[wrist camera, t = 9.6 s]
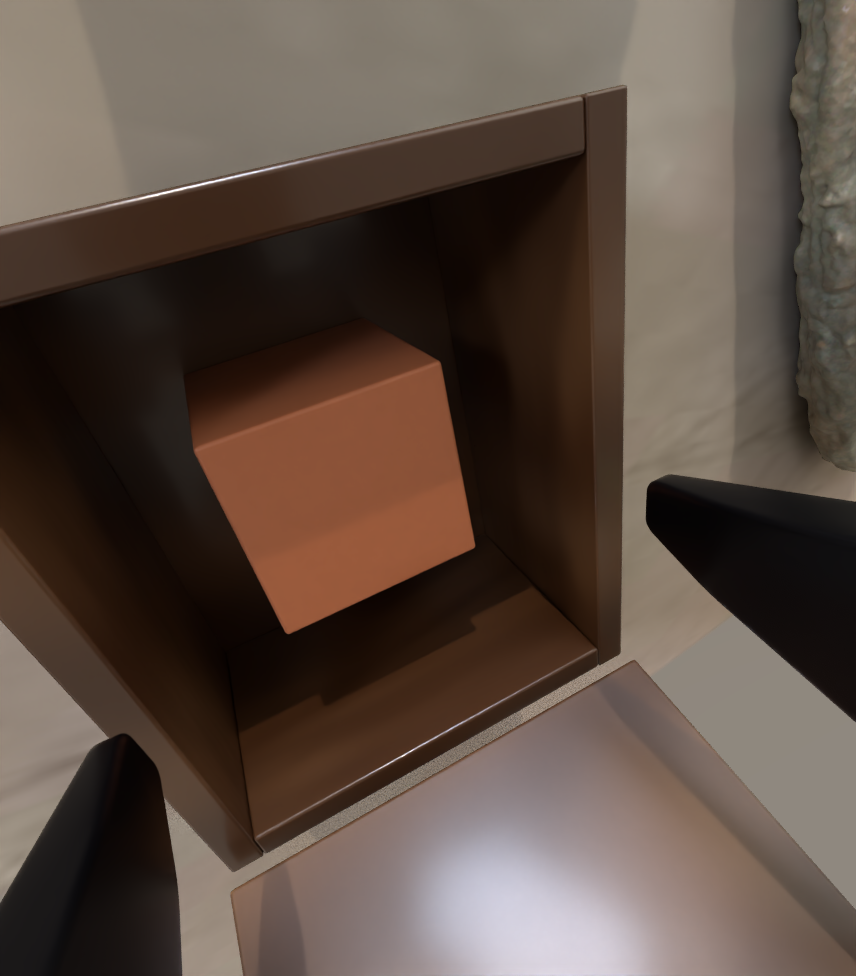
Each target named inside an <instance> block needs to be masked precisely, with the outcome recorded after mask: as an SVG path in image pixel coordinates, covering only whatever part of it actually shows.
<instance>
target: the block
mask: <svg viewBox="0 0 856 976" xmlns="http://www.w3.org/2000/svg"><path fill="white" fill-rule="evenodd" d="M183 379H184V386H185V393H186V400H187V408H188V415H189V422H190V429H191V436H192V443H193V450H194V453H195V455H196V457H197V459H198V461H199V463H200V465H201V467H202V469H203V471H204V473H205V475H206V477H207V479H208V481H209V483H210V485H211V487H212V489H213V491H214V493H215V495H216V497H217V499H218V501H219V503H220V505H221V507H222V509H223V511H224V513H225V515H226V517H227V519H228V521H229V522H230V524H231V526H232V528H233V530H234V532H235V534H236V536H237V538H238V540H239V542H240V544H241V546H242V548H243V550H244V552H245V554H246V556H247V558H248V560H249V562H250V564H251V566H252V568H253V570H254V572H255V574H256V576H257V578H258V580H259V582H260V584H261V586H262V588H263V590H264V592H265V594H266V596H267V598H268V599H269V601H270V603H271V605H272V607H273V609H274V611H275V613H276V615H277V617H278V619H279V621H280V623H281V625H282V627H283V629H284V631H285V632H286V633H287V634H291V633H293V632H295V631H298V630H300V629H302V628H304V627H306V626H308V625H310V624H313V623H315V622H317V621H319V620H321V619H323V618H325V617H328V616H330V615H332V614H334V613H336V612H338V611H340V610H343V609H345V608H347V607H349V606H351V605H353V604H356V603H358V602H360V601H362V600H364V599H366V598H368V597H371V596H373V595H375V594H377V593H379V592H381V591H383V590H386V589H388V588H390V587H392V586H394V585H396V584H399V583H401V582H403V581H405V580H407V579H409V578H411V577H414V576H416V575H418V574H420V573H422V572H424V571H426V570H429V569H431V568H433V567H435V566H437V565H439V564H441V563H444V562H446V561H448V560H450V559H452V558H454V557H457V556H459V555H461V554H463V553H465V552H467V551H469V550H472V549H474V548H475V541H474V536H473V530H472V525H471V520H470V514H469V509H468V504H467V499H466V493H465V488H464V483H463V477H462V472H461V467H460V462H459V456H458V451H457V446H456V440H455V435H454V430H453V425H452V419H451V414H450V409H449V403H448V398H447V393H446V388H445V382H444V377H443V372H442V366H441V363H440V361H439V360H437V359H435V358H433V357H432V356H430V355H428V354H426V353H425V352H423V351H421V350H419V349H418V348H416V347H414V346H412V345H411V344H409V343H407V342H405V341H404V340H402V339H400V338H398V337H397V336H395V335H393V334H391V333H389V332H388V331H386V330H384V329H382V328H381V327H379V326H377V325H375V324H374V323H372V322H370V321H368V320H367V319H365V318H361V319H358V320H354V321H351V322H348V323H345V324H342V325H339V326H336V327H333V328H329V329H326V330H323V331H320V332H317V333H314V334H311V335H308V336H304V337H301V338H298V339H295V340H292V341H289V342H286V343H283V344H279V345H276V346H273V347H270V348H267V349H264V350H261V351H258V352H254V353H251V354H248V355H245V356H242V357H239V358H236V359H233V360H229V361H226V362H223V363H220V364H217V365H214V366H211V367H208V368H204V369H201V370H198V371H195V372H192V373H189V374H186V375H184V376H183Z"/></svg>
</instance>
